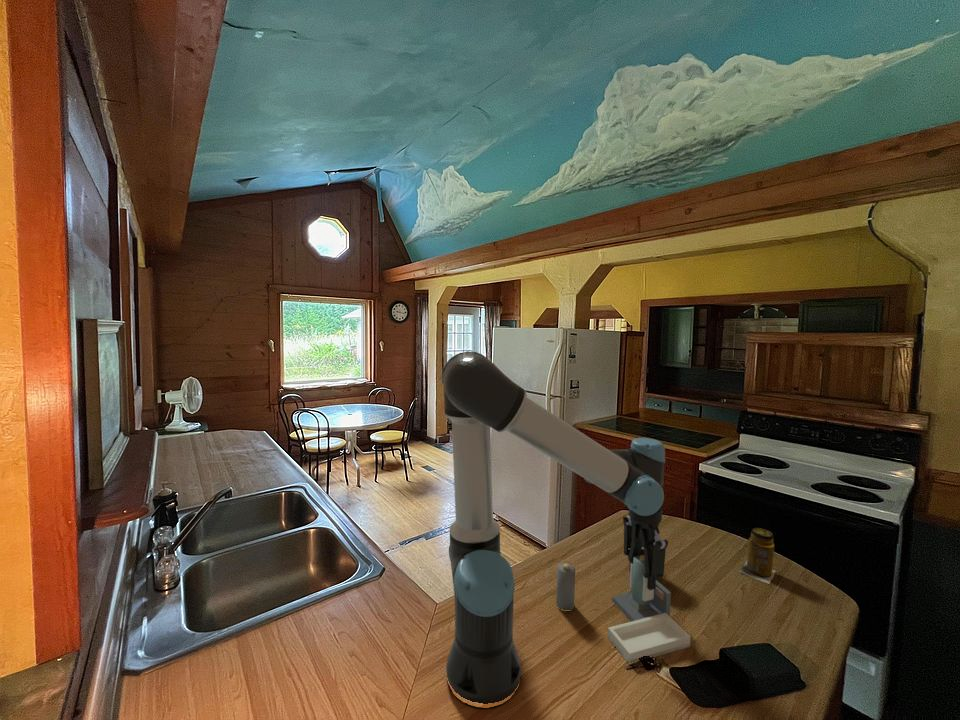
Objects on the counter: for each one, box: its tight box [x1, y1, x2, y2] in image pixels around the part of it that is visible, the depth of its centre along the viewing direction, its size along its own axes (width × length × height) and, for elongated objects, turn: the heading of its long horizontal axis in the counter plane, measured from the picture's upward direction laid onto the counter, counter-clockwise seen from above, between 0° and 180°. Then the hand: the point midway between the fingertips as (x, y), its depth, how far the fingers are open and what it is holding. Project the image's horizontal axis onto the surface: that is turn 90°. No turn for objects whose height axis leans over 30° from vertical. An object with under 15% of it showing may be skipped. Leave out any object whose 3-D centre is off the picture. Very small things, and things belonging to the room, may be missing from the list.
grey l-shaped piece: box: [611, 579, 672, 622], centre depth 102 cm, size 9×10×7 cm
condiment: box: [738, 527, 777, 585], centre depth 118 cm, size 7×8×12 cm
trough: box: [607, 613, 691, 664], centre depth 92 cm, size 16×8×2 cm, turn 108°
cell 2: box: [631, 555, 651, 604], centre depth 102 cm, size 4×4×11 cm
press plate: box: [630, 595, 651, 611], centre depth 102 cm, size 4×3×2 cm
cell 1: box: [555, 562, 576, 611], centre depth 104 cm, size 4×4×11 cm
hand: (641, 592), depth 102 cm, fingers closed on cell 2, 4 cm apart
